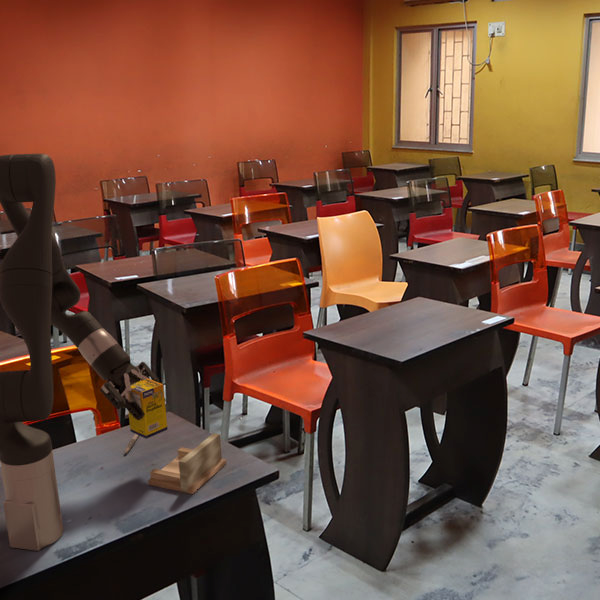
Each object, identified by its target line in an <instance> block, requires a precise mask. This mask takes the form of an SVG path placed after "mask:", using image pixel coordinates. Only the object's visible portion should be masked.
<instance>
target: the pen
mask: <svg viewBox="0 0 600 600" xmlns="http://www.w3.org/2000/svg"><path fill="white" fill-rule="evenodd" d="M138 438H139V435H137V434H135V433H134V435H133V437H132V438H131V439H130V441H129V443H128V444H127V445H126V448H125V449H124V454H128V452H130V451H131V450H132V447H133V445H134V444H135V443H136V441H137V439H138Z"/></svg>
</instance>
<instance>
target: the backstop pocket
mask: <svg viewBox="0 0 600 600" xmlns="http://www.w3.org/2000/svg"><path fill="white" fill-rule="evenodd" d="M221 441H222V440H221V434H220V433H215V432H213V433H212V434H211V435H210V436H208V437H207V438H206V439H205V440H203V441H202V442H201V443H200V444H198V445H196V447H194V448H193V449H192V448H188V447H180V448H179V449H177V456H176V458H174V459H173V460H171V461H170V462H169V463H168V464H166V465H165V466H164V467H162V468H161V469H159V468H153V469H152V470H150V471H149V472H150V474H149V475H150V478H149V479H147V483H148V484H147V485H148V486H153V487H154V486H155V487H158V486H159V488H163V489H168V490H172V491H176V492H181V493H185V494H186V493H187V494H189V495H193V494H195V493H196V492H197V491H198V490H199V488H201V487H202V486H203V485H205V484H206V483H207V481H209V480H210V479H211V478H213V476H214V475H215V474H217V472H219V471H220V470H221V469H222V468H223V467H224V466H225V465H227V459H226V458H225V459H224V458H223V457H222V456H223V455H222V442H221ZM197 489H198V490H197Z"/></svg>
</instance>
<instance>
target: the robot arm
mask: <svg viewBox="0 0 600 600" xmlns="http://www.w3.org/2000/svg"><path fill="white" fill-rule="evenodd" d="M56 181H57V179H56V169H55V164H54V162H53V159H52V158H51V156H50V155H48V154H47V153H19V154H18V153H16V154H15V153H14V154H2V155H0V205H1V208H2V209H3V211H4V213H5V215H6V217H7V219H8V220H7V221H8V222H9V223H10V225H11V227H12V229H13V231H14V232H15V234H16V236H17V238H16V239H15V240H14V242H13V243H12V244H11V246H10V247H9V249H8V250H7V252H6V253H5V255H4V257H3V259H2V261H1V263H0V304H1V306H2V309H3V311H4V312H5V313H6V315H7V316H8V319H10V321H11V322H12V324H13V325H14V327H15V328H16V330H17V331H18V333H19V334H20V337H22V340H23V341H24V344H25V345H26V348H27V351H28V355H29V361H30V368H29V369H23V370H6V371H5V370H4V371H0V470H1V477H2V482H3V483H2V484H3V489H4V496H5V500H4V501H3V502H2V505H3V512H4V517H5V522H6V523H5V524H6V530H7V537H8V542H9V547H10V548H14V549H22V550H30V551H36V552H38V551H41V549H43V548H45V547H47V546H49V545H52V544H54V543H56V541H58V540H59V539H60V538H61V537H62V536H63V534H64V532H65V531H64V524H63V517H62V510H61V502H60V495H59V487H58V480H57V475H56V474H57V473H56V467H55V459H54V452H53V446H52V439H51V436H50V435H49V433H48V432H46V431H45V430H42V429H39V428H35V427H32V426H29V425H27V424H26V422H38V421H45V420H47V419H48V418H49V417H50V416H51V414H52V411H53V404H54V375H53V360H52V359H53V358H52V342H51V341H52V336H51V331H52V329H51V326H53V327H54V328H55V329H57V330H58V331H60V332H61V333H62V334H64V336H66V337H67V338H68V339H69V341H71V343H72V344H73V345H74V346H75V348H77V349H78V351H79V352H80V354H81V356H82V357H83V358H84V360H86V362H87V363H88V364H89V365H90V367H91V368H92V369H93V370H94V371H95V372H96V374H97V375H98V376H99V377H100V378H101V379H102V381H105V382H104V383H103V384H102V386H101V387H100V388H99V391H100V392H101V393H102V394H103V396H104V397H105V398H106V399H107V400H108V401H109V402H110V403H111V404H112V406H113V407H114V408H115V410H120V409H125V410H127V411H129V412H130V413H131V415H132V416H133V417H134V418H135V419H137V420H140V419H142V418H143V416H144V415H145V413H144V412H143V411H142V409H141V408H140V407H139V406H138V405H137V404H136V402H135V401H134V402H133V399H132V395H131V392H132V389H131V385H133V384H134V383H136V382H138V381H141V380H145V379H147V378H148V379H151V380H153V381H156V382H158V383H160V379H159V377H158V376H157V375H156V374H155V373H154V371H153V370H152V369H151V368H150V367H149V365H147V363H146V362H145V361H141V362H140V363H139V364H138V365H134V364H133V363H132V362H131V357H130V355H128V353H127V352H126V351H125V350H124V349H123V347H122V345H120V344H119V343H118V341H117V340H116V339H115V338H114V337H113V336H112V335H111V334H110V333H109V332H108V331H107V330H106V329H105V328H104V327H103V326H102V325H101V324H100V322H98V320H97V319H96V318H95V316H93V314H91V313H90V312H89V311H85V310H84V311H79V312H76V313H73V314H68V313H66V312H68V310H70V309H71V308H73V307H75V306H76V305H78V303H79V302H80V300H81V291H80V288H79V285H77V283H76V282H75V281H74V279H73V277H71V274H70V273H69V272H68V270H67V268H66V266H65V262H64V258H63V256H62V252H61V248H60V245H59V242H58V241H57V239H56V238H55V236H53V220H54V211H55V199H56V183H57V182H56ZM24 203H32V206H31V209H30V212H29V211H28V209H27V208H26V207H25V205H24ZM165 402H167V401H166V398H165ZM24 422H25V423H24Z"/></svg>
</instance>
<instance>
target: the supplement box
mask: <svg viewBox="0 0 600 600" xmlns="http://www.w3.org/2000/svg"><path fill="white" fill-rule="evenodd" d="M131 389H132V392H131V395H132V399H133V402H134V401H135V402H136V404H137V405H138V406H139V407H140V408H141V409H142V411H143V412H144V413H145V415H144V416H143V418H142V419H140V420H137V419H135V418H134V417H133V416H132V415H131V413H130V412H129V411H128V410H127V411H128V419H129V421H128V423H129V429H130V430H129V431H130V433H133V434H134V435H135V434H137V435H139V436H140V437H142V438H144V439H148V438H149V439H150V438H152V437H154V436H156V435H158V434H161V433H163V432H165V431H168V421H167V420H168V419H167V409H166V407H167V406H166V401H165V399H166V397H165V388H164V384H163V383H161V382H156V381H153V380H152V378H150V379H148V378H147V379H145V380H140V381H138V382H136V383H134V384H133V385H131ZM139 436H138V437H139Z"/></svg>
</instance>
